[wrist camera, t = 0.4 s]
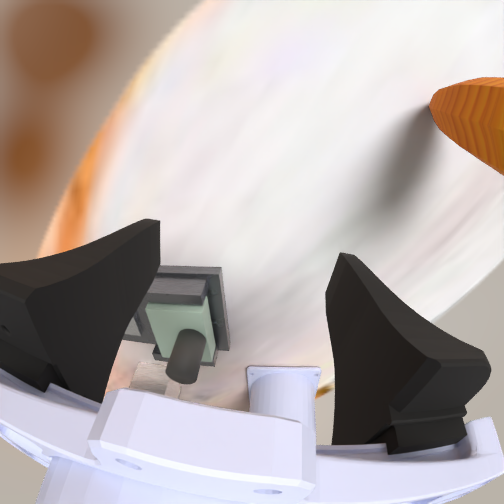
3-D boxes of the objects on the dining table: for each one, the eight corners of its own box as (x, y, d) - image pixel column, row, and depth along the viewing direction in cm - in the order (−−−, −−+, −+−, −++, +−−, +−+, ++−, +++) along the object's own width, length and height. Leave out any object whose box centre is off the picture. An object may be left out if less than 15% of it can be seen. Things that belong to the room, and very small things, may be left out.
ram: (215, 345, 26) (204, 397, 22) (168, 341, 27) (150, 390, 22) (207, 296, 23) (190, 351, 18) (153, 293, 24) (127, 343, 19)
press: (230, 343, 29) (225, 369, 26) (102, 329, 30) (90, 350, 27) (221, 267, 24) (213, 292, 21) (74, 262, 25) (57, 282, 22)
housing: (181, 386, 34) (172, 420, 30) (149, 382, 35) (138, 413, 30) (173, 366, 32) (162, 402, 28) (139, 361, 32) (125, 395, 28)
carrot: (458, 78, 14) (633, 121, 1) (459, 142, 17) (615, 243, 4) (400, 68, 15) (589, 81, 2) (403, 138, 17) (568, 250, 4)
